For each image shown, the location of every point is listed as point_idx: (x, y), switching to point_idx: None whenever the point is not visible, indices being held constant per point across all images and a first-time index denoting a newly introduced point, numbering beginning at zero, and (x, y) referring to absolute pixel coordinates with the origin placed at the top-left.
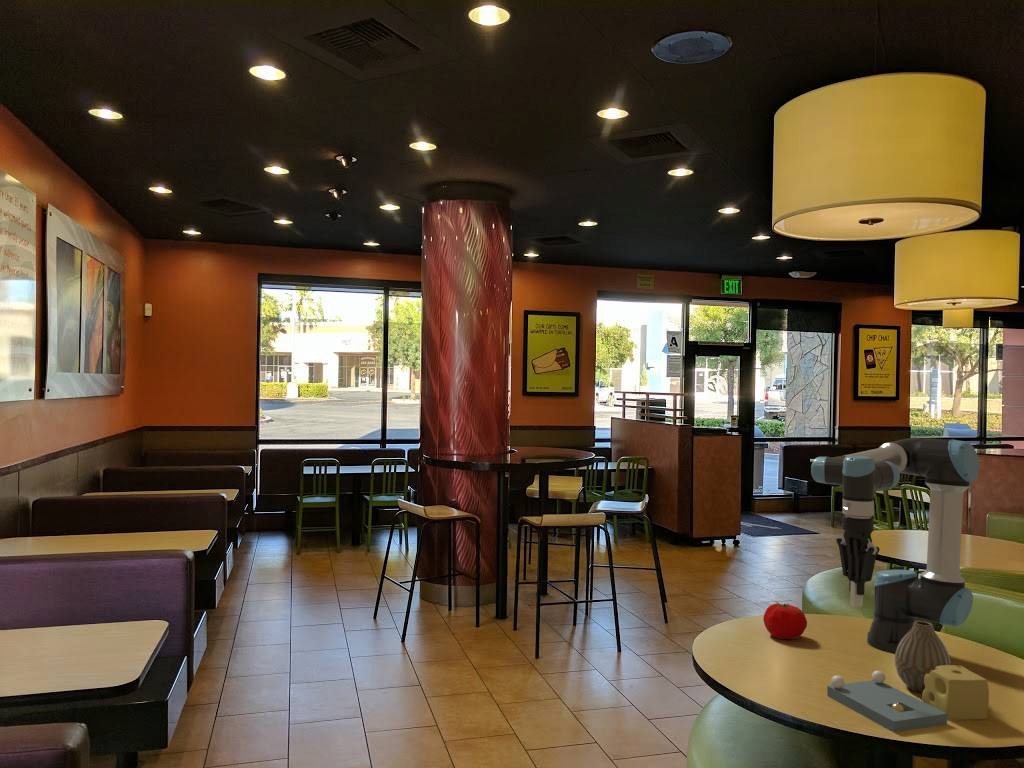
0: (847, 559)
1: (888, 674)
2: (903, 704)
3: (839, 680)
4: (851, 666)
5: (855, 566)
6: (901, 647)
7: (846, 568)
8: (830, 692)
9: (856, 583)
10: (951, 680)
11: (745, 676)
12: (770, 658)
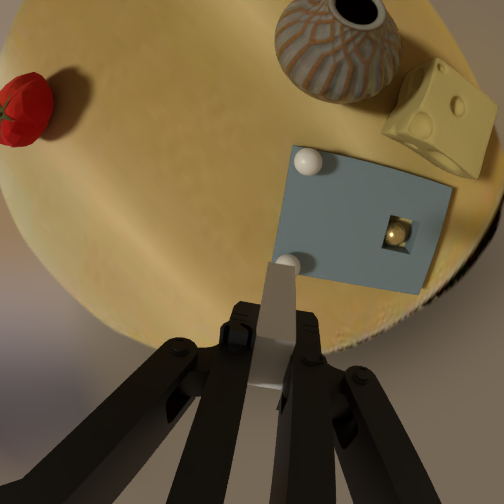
0: (137, 453)
1: (243, 54)
2: (395, 215)
3: (296, 275)
4: (179, 90)
5: (274, 474)
6: (320, 81)
7: (176, 417)
8: None
9: (283, 376)
10: (478, 175)
11: (156, 311)
12: (100, 211)
